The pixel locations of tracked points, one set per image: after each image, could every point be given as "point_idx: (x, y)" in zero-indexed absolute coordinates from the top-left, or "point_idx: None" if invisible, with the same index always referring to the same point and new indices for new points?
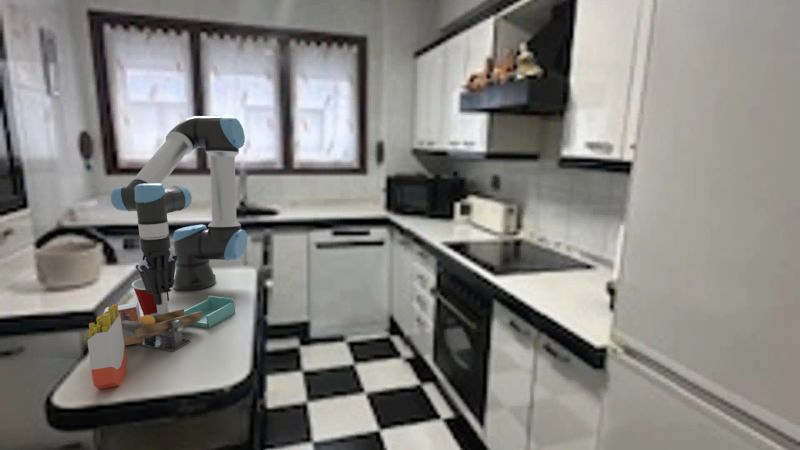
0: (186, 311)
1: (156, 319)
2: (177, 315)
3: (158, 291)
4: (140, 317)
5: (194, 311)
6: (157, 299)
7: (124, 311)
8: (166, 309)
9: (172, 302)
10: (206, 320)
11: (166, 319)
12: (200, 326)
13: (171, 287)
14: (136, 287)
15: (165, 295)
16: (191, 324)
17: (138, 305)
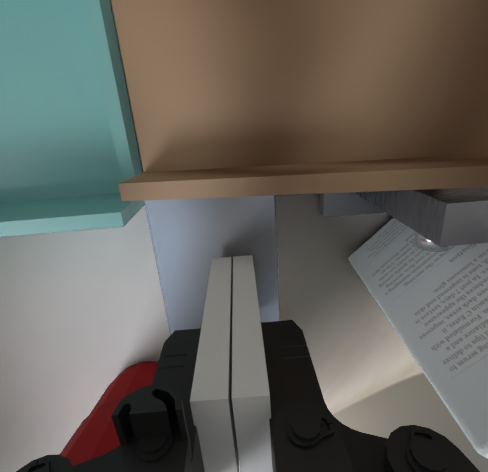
0: (89, 212)
1: (436, 160)
2: (204, 171)
3: (345, 457)
4: (420, 312)
5: (28, 210)
6: (313, 369)
7: None
8: (229, 274)
9: (7, 453)
10: (36, 82)
11: (317, 164)
12: (117, 51)
13: (64, 460)
14: None
15: (219, 368)
16: (132, 133)
17: (475, 403)
